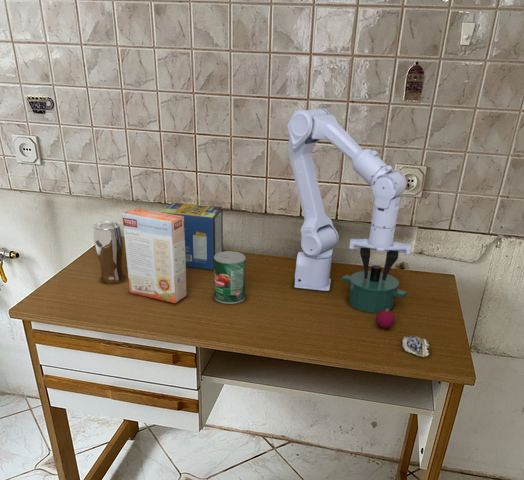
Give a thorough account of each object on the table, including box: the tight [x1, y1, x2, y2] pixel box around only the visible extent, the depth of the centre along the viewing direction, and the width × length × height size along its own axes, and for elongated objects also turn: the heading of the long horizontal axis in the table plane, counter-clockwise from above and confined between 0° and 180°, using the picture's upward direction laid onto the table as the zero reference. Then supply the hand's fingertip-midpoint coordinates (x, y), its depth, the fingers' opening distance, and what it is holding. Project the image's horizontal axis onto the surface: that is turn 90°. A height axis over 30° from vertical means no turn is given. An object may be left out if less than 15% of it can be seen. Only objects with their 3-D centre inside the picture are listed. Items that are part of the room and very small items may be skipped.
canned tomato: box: [213, 250, 247, 305], centre depth 131 cm, size 8×8×11 cm
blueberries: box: [401, 335, 430, 358], centre depth 114 cm, size 7×8×2 cm
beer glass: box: [93, 220, 125, 285], centre depth 136 cm, size 7×7×15 cm
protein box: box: [160, 202, 224, 271], centre depth 150 cm, size 10×15×16 cm
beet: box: [375, 308, 396, 330], centre depth 121 cm, size 4×4×5 cm
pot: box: [341, 274, 408, 314], centre depth 132 cm, size 11×17×6 cm
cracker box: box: [121, 207, 188, 304], centre depth 128 cm, size 14×6×21 cm, turn 65°
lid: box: [349, 264, 400, 292], centre depth 130 cm, size 12×12×5 cm
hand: (374, 278), depth 130 cm, fingers open, 4 cm apart
